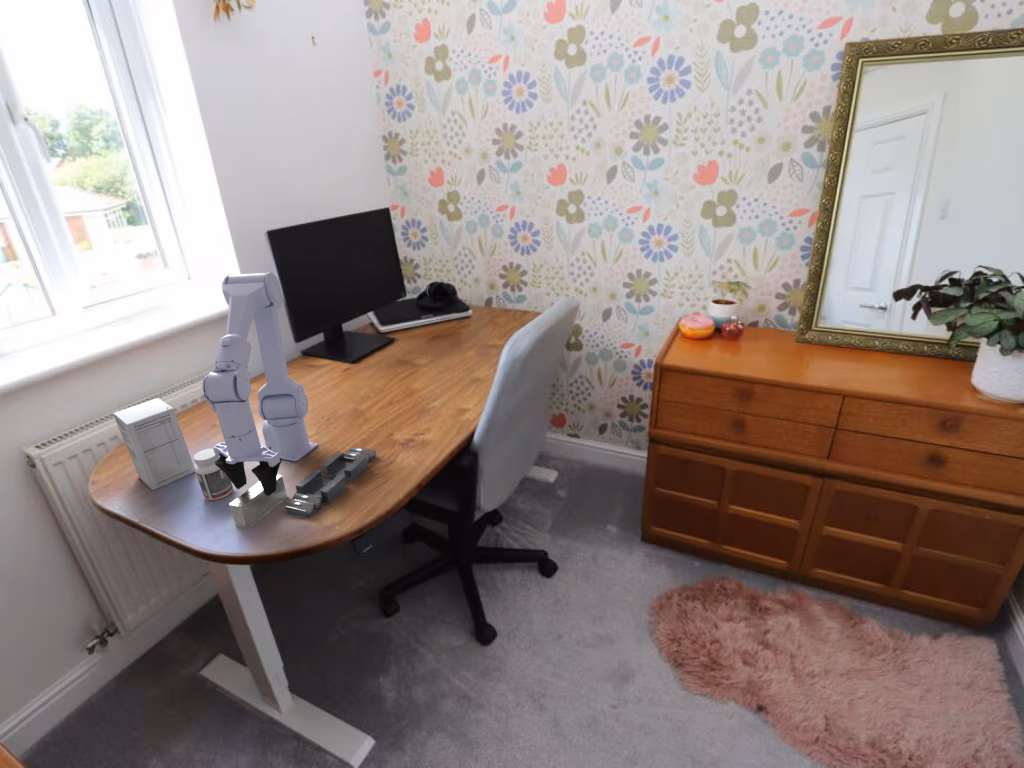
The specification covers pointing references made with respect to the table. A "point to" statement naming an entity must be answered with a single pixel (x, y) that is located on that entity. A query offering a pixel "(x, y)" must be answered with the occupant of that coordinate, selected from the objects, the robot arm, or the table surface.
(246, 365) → the robot arm
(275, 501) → the pale grey rectangular prism
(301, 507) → the chain end
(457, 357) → the table surface
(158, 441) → the supplement box
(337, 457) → the chain end
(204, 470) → the pill bottle
